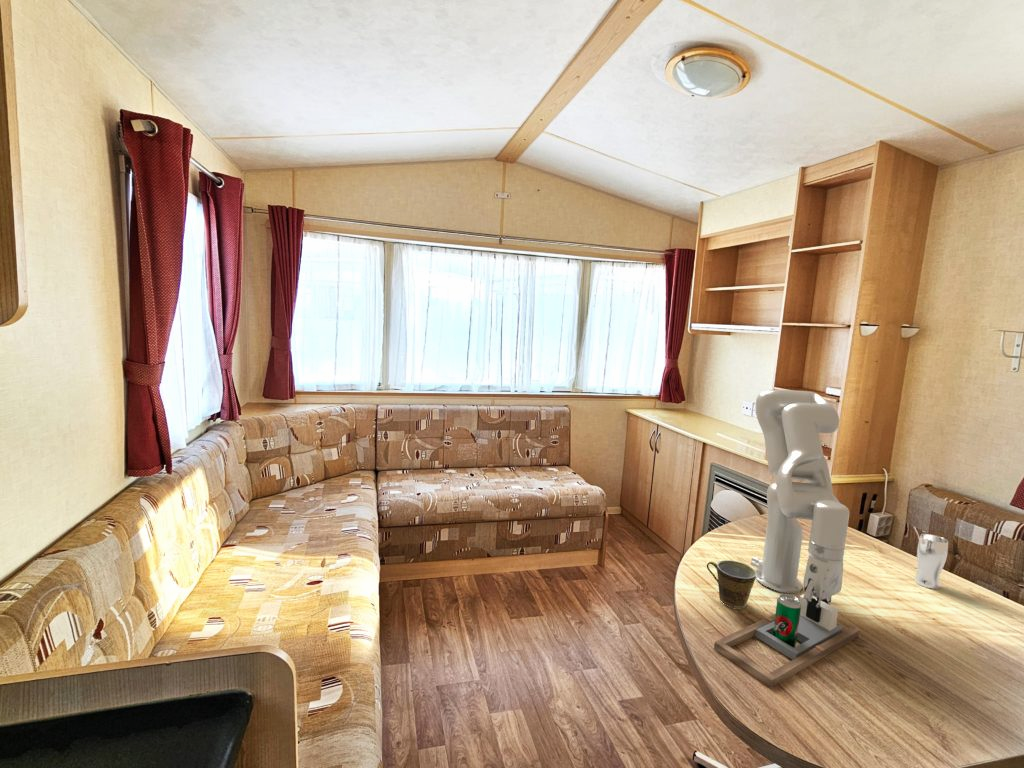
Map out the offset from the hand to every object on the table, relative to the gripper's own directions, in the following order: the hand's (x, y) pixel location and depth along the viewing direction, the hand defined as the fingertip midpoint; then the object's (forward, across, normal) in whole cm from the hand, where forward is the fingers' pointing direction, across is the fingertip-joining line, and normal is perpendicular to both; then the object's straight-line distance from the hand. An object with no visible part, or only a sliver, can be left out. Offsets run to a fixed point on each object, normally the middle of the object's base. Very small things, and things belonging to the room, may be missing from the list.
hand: (816, 616), depth 126 cm
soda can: (+3, -14, 0) cm, 14 cm away
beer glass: (+3, +56, -3) cm, 57 cm away
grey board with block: (+3, -8, 0) cm, 8 cm away
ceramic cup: (+3, -10, +19) cm, 22 cm away
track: (+3, -12, 0) cm, 12 cm away
